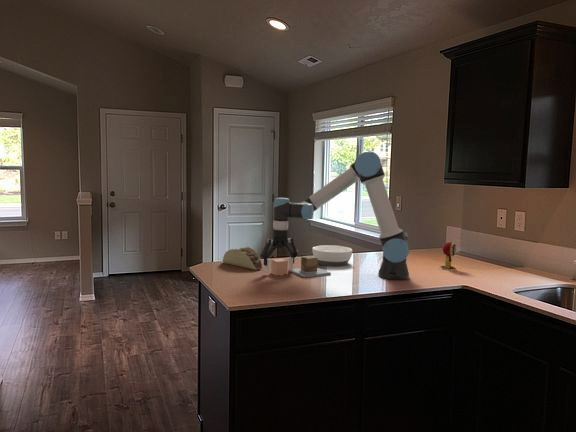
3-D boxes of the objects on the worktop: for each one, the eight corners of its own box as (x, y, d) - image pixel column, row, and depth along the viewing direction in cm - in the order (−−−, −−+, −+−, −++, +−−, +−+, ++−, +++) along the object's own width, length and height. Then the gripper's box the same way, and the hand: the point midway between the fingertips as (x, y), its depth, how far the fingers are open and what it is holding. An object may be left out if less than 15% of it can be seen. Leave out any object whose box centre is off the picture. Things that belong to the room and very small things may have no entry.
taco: (253, 272, 252) (254, 252, 251) (217, 264, 269) (217, 245, 268) (266, 269, 259) (267, 250, 258) (230, 261, 276) (231, 243, 275)
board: (330, 275, 250) (330, 272, 250) (303, 277, 242) (303, 275, 242) (314, 269, 263) (314, 266, 263) (288, 271, 255) (288, 269, 255)
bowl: (306, 264, 274) (306, 249, 273) (318, 257, 295) (319, 244, 294) (346, 269, 266) (347, 253, 265) (355, 261, 287) (356, 247, 286)
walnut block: (317, 271, 252) (317, 257, 251) (307, 272, 249) (307, 258, 248) (310, 269, 257) (311, 255, 256) (300, 269, 254) (301, 256, 253)
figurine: (455, 271, 269) (457, 244, 267) (436, 269, 274) (438, 242, 272) (458, 268, 276) (460, 242, 274) (440, 266, 281) (442, 240, 279)
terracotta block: (287, 274, 248) (287, 261, 247) (276, 275, 245) (277, 261, 244) (281, 272, 253) (281, 258, 252) (271, 273, 250) (271, 259, 249)
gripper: (298, 227, 256) (296, 267, 258) (254, 228, 244) (253, 271, 246) (305, 229, 250) (304, 270, 252) (261, 230, 237) (259, 274, 239)
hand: (278, 271), depth 249 cm, fingers open, 13 cm apart
